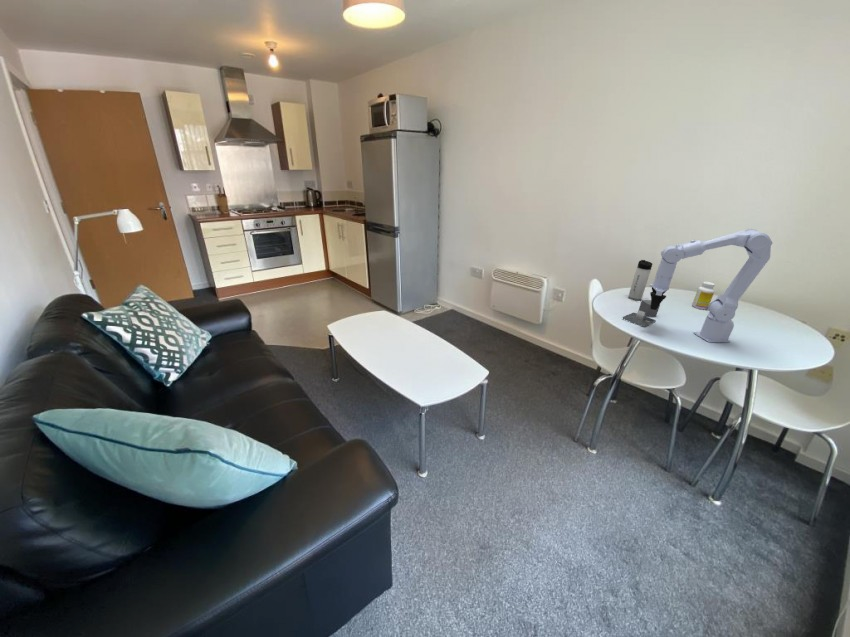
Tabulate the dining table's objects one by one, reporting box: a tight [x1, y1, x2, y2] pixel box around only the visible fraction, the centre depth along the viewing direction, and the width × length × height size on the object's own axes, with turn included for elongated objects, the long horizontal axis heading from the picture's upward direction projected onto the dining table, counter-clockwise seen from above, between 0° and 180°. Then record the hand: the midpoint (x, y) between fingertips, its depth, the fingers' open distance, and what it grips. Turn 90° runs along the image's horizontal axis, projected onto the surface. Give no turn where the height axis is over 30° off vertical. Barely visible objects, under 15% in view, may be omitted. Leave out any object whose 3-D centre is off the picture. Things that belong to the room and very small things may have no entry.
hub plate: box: [622, 309, 657, 328], centre depth 159 cm, size 10×10×4 cm
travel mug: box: [627, 259, 653, 301], centre depth 182 cm, size 6×7×20 cm
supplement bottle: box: [691, 281, 716, 310], centre depth 175 cm, size 7×7×13 cm
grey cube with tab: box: [638, 299, 661, 318], centre depth 166 cm, size 5×5×6 cm
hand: (653, 306), depth 150 cm, fingers open, 7 cm apart
